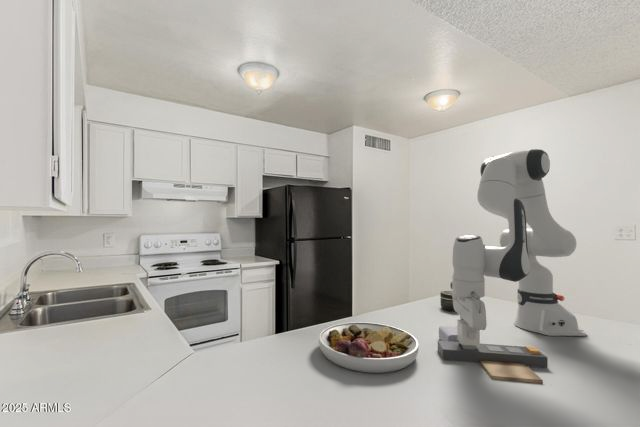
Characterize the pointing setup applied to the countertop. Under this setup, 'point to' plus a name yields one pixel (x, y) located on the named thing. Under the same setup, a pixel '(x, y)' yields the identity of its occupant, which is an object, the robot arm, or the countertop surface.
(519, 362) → the power strip
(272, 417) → the countertop surface
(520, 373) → the cork mat
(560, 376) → the countertop surface
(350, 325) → the bowl
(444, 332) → the charger
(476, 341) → the charger
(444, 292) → the jar
